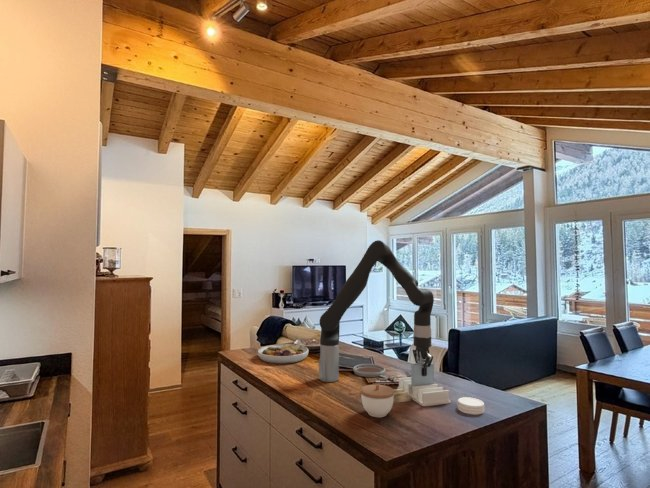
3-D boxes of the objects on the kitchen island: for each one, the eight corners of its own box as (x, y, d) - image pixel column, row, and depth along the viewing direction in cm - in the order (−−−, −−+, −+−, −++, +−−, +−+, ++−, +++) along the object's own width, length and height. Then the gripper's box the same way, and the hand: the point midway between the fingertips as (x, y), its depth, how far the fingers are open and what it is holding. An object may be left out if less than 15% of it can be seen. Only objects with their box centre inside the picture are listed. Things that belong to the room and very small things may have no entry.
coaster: (460, 403, 160) (460, 395, 160) (486, 408, 154) (486, 399, 155) (455, 412, 151) (454, 402, 151) (482, 417, 146) (482, 407, 146)
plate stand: (384, 404, 158) (384, 396, 158) (376, 397, 166) (376, 390, 166) (411, 400, 162) (410, 393, 162) (401, 394, 169) (401, 387, 170)
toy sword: (382, 381, 181) (346, 366, 204) (382, 387, 181) (346, 371, 204) (408, 375, 191) (370, 361, 214) (408, 381, 191) (370, 366, 214)
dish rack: (422, 406, 156) (422, 393, 156) (397, 389, 176) (397, 377, 177) (450, 403, 160) (450, 390, 160) (422, 386, 180) (422, 375, 180)
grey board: (413, 388, 166) (413, 365, 166) (411, 387, 168) (411, 363, 168) (434, 386, 169) (433, 363, 169) (431, 385, 171) (431, 362, 171)
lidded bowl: (372, 404, 157) (372, 377, 158) (400, 412, 149) (400, 383, 150) (354, 414, 148) (354, 385, 148) (383, 423, 140) (383, 392, 140)
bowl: (254, 354, 241) (254, 341, 241) (301, 350, 250) (301, 338, 250) (261, 367, 212) (261, 352, 212) (314, 362, 221) (314, 349, 221)
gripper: (406, 332, 174) (407, 371, 174) (423, 338, 161) (423, 380, 161) (421, 331, 177) (421, 370, 176) (438, 337, 164) (439, 379, 163)
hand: (422, 375), depth 168 cm, fingers closed on grey board, 2 cm apart
